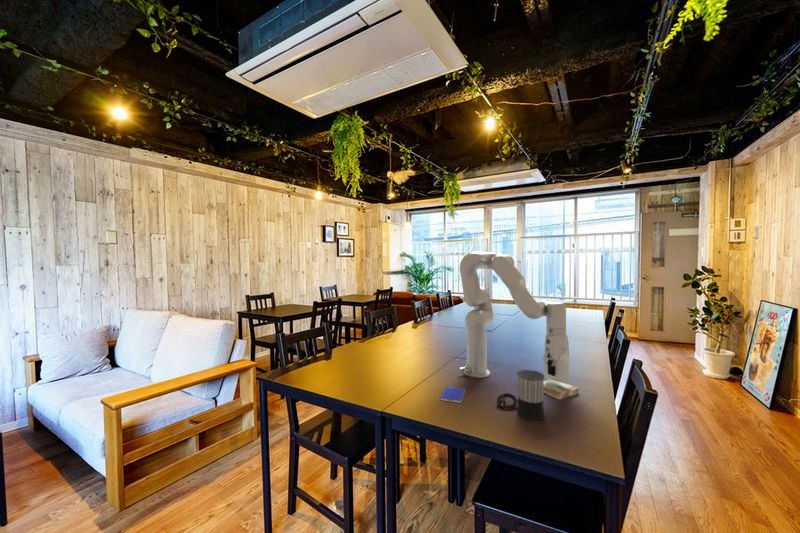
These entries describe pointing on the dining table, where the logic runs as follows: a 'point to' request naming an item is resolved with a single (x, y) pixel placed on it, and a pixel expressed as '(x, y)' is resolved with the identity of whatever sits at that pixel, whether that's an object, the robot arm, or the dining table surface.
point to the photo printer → (559, 369)
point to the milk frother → (527, 395)
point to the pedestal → (559, 389)
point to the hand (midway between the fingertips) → (556, 373)
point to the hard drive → (453, 394)
